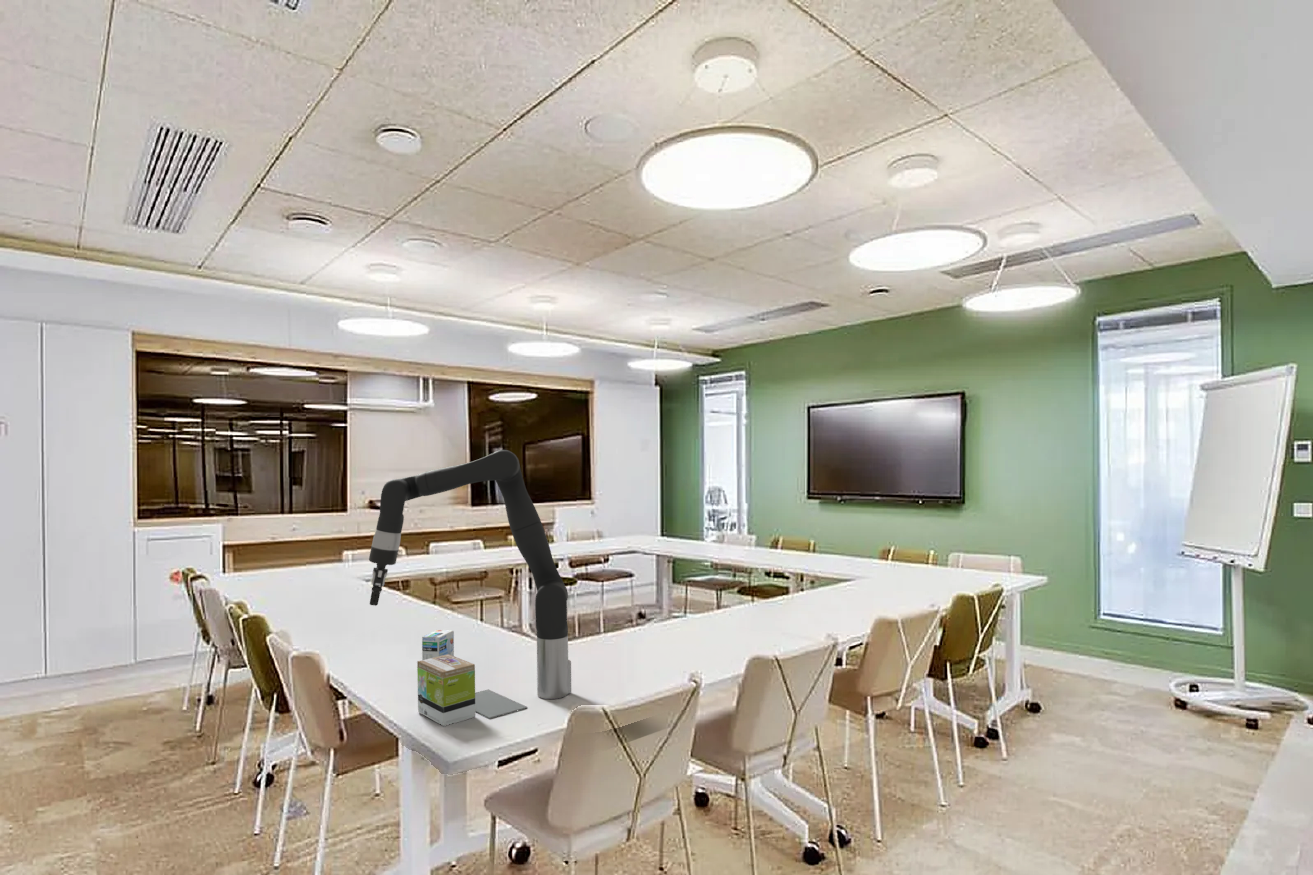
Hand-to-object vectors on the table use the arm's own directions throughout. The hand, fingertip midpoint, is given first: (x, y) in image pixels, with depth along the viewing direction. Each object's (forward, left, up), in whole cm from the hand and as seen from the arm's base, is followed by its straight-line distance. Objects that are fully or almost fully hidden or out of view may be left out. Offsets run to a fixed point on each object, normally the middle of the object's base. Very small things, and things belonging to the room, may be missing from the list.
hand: (373, 601), depth 211 cm
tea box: (-11, +24, -30) cm, 40 cm away
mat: (-24, +24, -29) cm, 45 cm away
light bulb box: (-32, -25, -30) cm, 50 cm away
